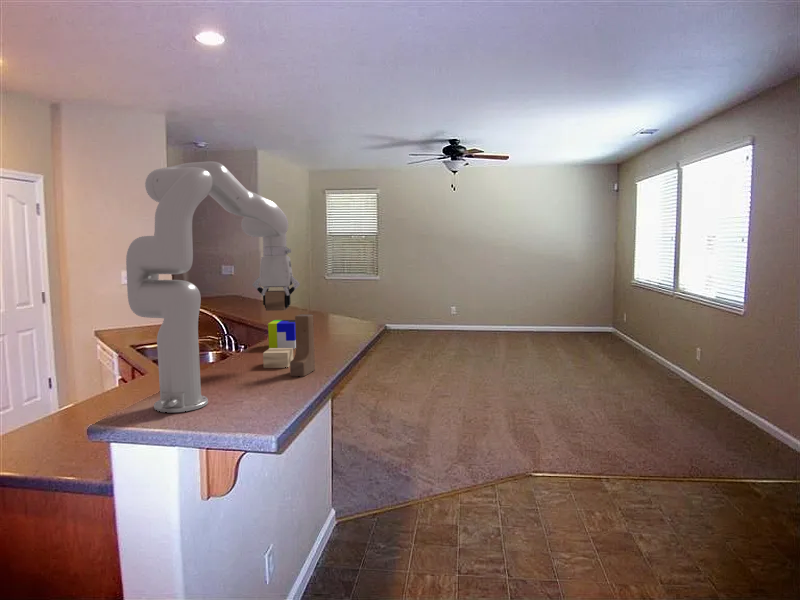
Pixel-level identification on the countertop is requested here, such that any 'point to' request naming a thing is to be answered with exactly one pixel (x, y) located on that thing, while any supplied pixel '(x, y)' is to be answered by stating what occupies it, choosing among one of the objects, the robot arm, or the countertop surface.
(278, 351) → the oak block
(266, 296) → the walnut cube
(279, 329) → the puzzle toy
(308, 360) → the wooden block
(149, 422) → the countertop surface
